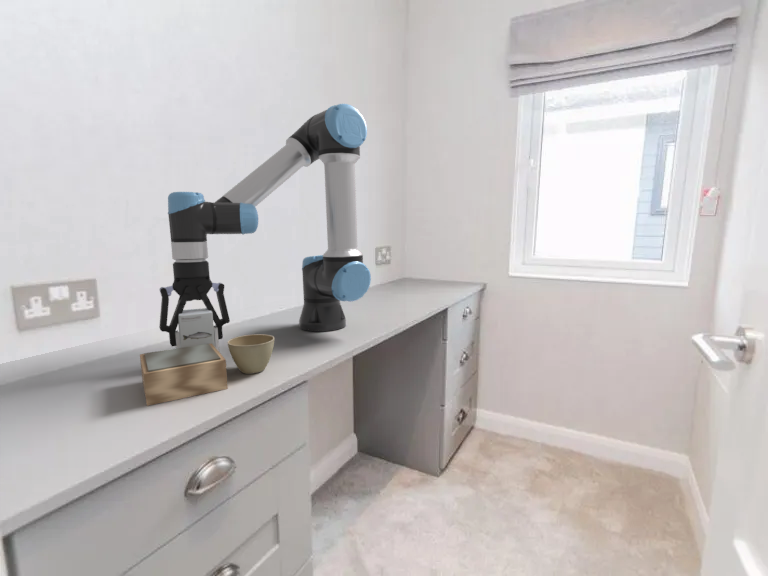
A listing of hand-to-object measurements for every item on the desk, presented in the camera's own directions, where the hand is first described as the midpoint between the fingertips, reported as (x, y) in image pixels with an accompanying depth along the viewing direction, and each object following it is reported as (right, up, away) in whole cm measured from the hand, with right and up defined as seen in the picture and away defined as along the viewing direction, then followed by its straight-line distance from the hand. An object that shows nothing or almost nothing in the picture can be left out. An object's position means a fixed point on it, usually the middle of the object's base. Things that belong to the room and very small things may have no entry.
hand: (198, 355), depth 97 cm
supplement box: (0, -2, 0) cm, 2 cm away
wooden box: (+4, -4, -14) cm, 15 cm away
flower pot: (+15, -3, -5) cm, 16 cm away
